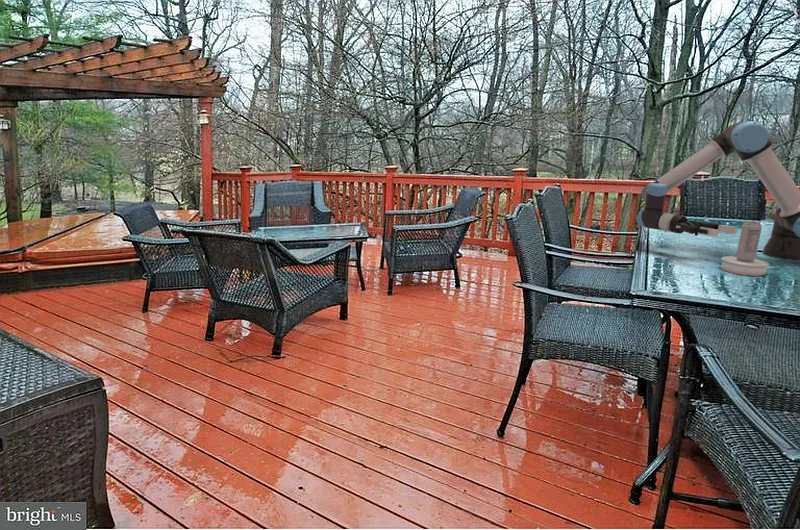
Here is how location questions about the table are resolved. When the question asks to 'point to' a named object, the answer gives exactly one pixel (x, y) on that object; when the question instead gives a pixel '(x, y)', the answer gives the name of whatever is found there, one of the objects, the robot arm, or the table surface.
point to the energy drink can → (749, 241)
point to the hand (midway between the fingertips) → (727, 232)
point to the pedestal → (744, 266)
